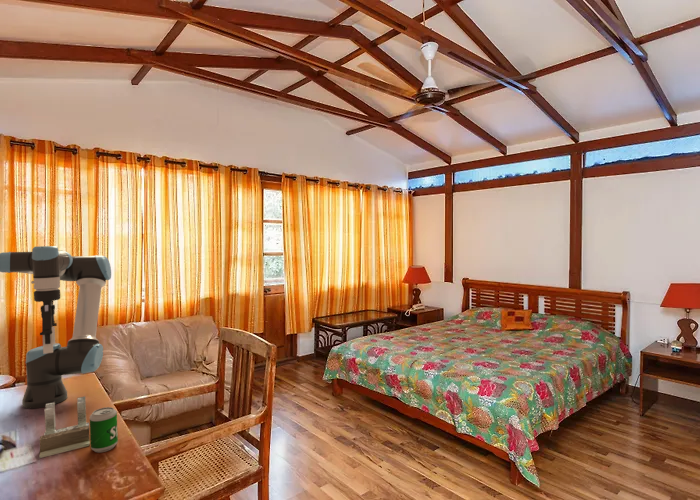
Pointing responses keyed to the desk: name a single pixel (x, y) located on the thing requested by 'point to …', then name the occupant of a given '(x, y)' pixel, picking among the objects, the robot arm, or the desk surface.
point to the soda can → (103, 429)
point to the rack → (50, 417)
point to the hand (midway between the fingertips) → (49, 348)
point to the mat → (64, 449)
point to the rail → (64, 438)
